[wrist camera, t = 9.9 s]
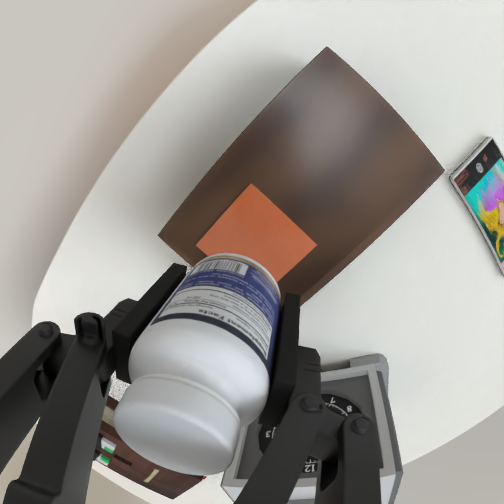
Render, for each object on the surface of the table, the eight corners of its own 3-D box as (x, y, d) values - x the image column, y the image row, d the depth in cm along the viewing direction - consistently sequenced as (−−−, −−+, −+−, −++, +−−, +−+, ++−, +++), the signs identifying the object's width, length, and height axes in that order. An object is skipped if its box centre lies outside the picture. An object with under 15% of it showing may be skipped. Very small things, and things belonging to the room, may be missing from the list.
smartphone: (492, 135, 21) (542, 242, 24) (488, 135, 22) (539, 240, 24) (451, 178, 24) (507, 281, 26) (448, 177, 25) (504, 278, 27)
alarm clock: (386, 352, 33) (419, 486, 16) (384, 417, 37) (399, 527, 20) (237, 372, 37) (198, 500, 20) (261, 432, 41) (240, 537, 24)
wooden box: (178, 220, 31) (156, 236, 26) (322, 61, 23) (327, 45, 18) (273, 304, 32) (268, 333, 28) (423, 164, 25) (446, 171, 20)
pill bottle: (241, 351, 18) (196, 494, 9) (169, 296, 17) (76, 421, 8) (303, 295, 16) (295, 459, 7) (223, 229, 15) (125, 354, 6)
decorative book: (180, 507, 45) (51, 436, 44) (189, 481, 52) (68, 413, 50) (217, 487, 38) (49, 394, 36) (226, 452, 45) (72, 367, 43)
